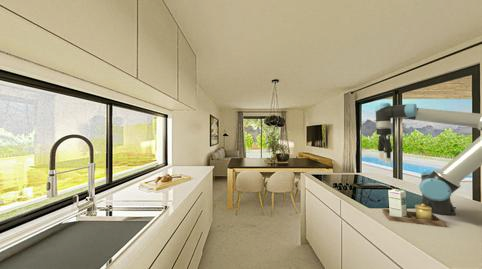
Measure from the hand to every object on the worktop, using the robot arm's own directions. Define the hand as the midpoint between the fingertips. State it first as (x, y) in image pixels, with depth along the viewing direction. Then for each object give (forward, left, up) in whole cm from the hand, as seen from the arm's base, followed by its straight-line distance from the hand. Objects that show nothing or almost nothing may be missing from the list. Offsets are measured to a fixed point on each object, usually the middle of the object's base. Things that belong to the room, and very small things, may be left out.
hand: (384, 162), depth 120 cm
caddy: (-6, +16, -29) cm, 33 cm away
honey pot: (-12, +16, -28) cm, 34 cm away
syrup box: (-1, +16, -28) cm, 32 cm away
